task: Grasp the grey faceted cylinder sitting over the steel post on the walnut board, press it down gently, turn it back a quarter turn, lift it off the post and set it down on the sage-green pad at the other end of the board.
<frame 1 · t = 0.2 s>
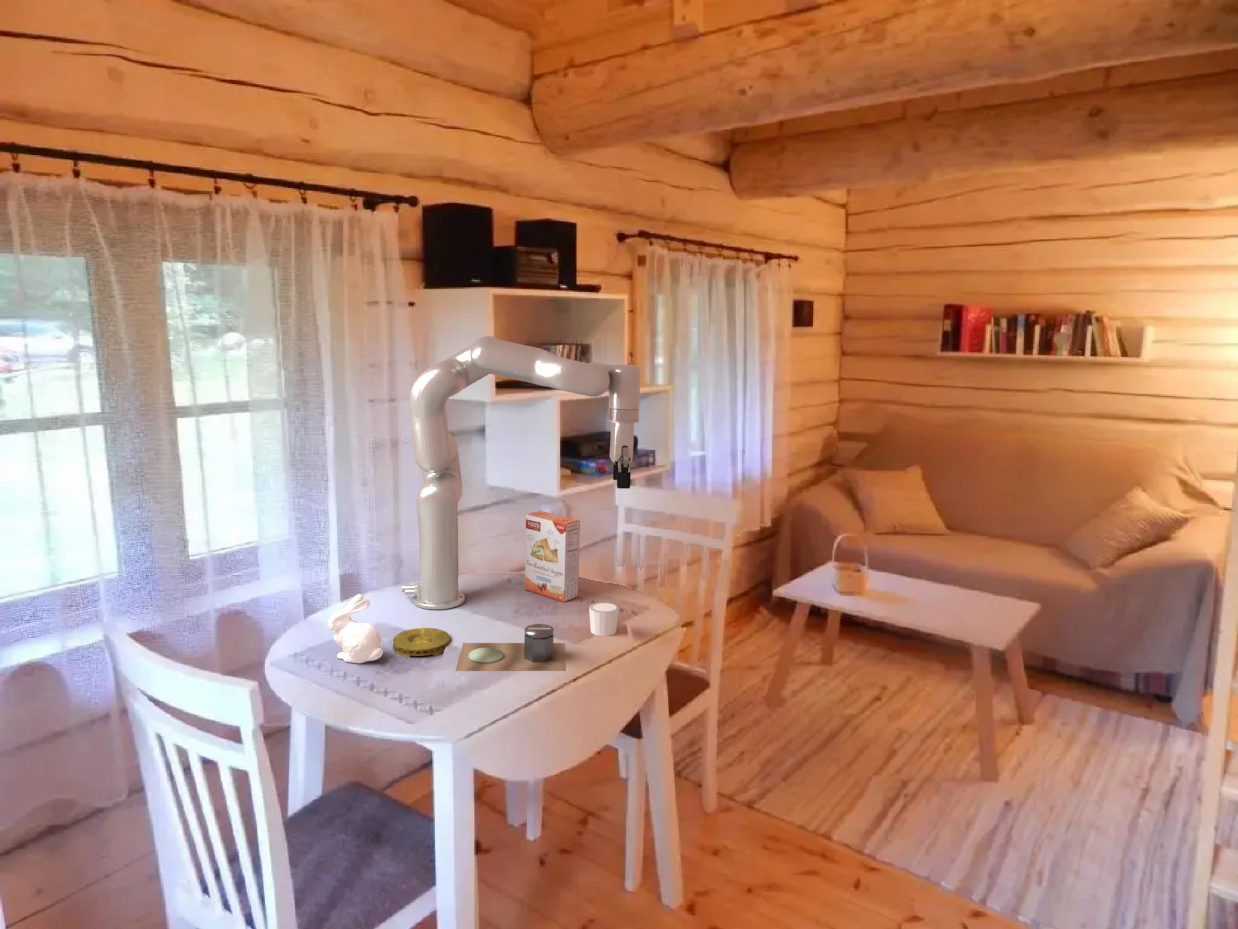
hand: (621, 484, 204), 31 cm above the table, tool pointing down, fingers open, 9 cm apart
brake disc: (421, 648, 179), on the table
white cup: (603, 636, 189), on the table
cracker box: (551, 594, 215), on the table
rabbit: (355, 657, 173), on the table
board: (512, 661, 173), on the table
grey faceted cylinder: (538, 656, 173), point 1 cm above the table, touching board
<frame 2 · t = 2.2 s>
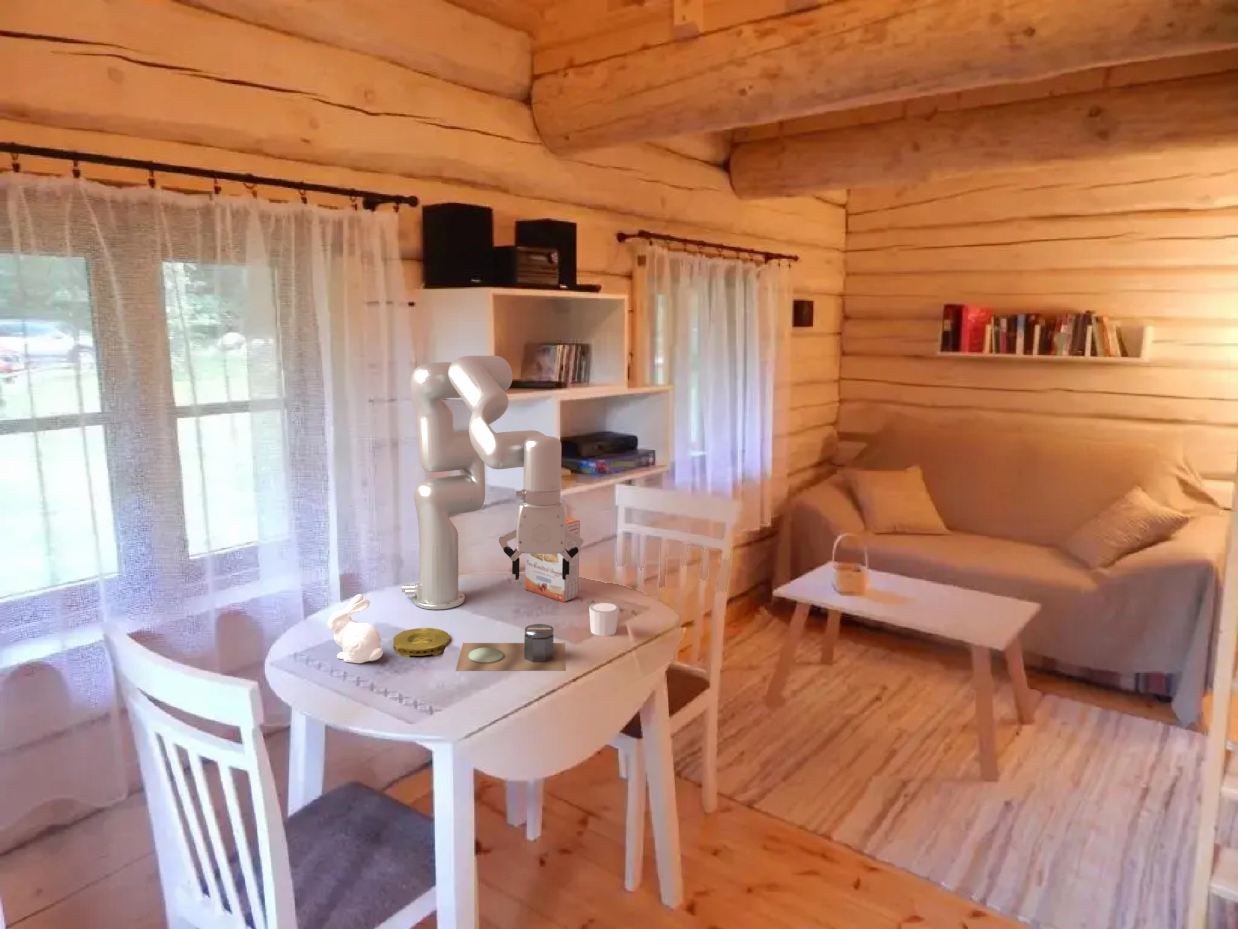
hand: (540, 577, 170), 18 cm above the table, tool pointing down, fingers open, 9 cm apart
nothing on the table moved.
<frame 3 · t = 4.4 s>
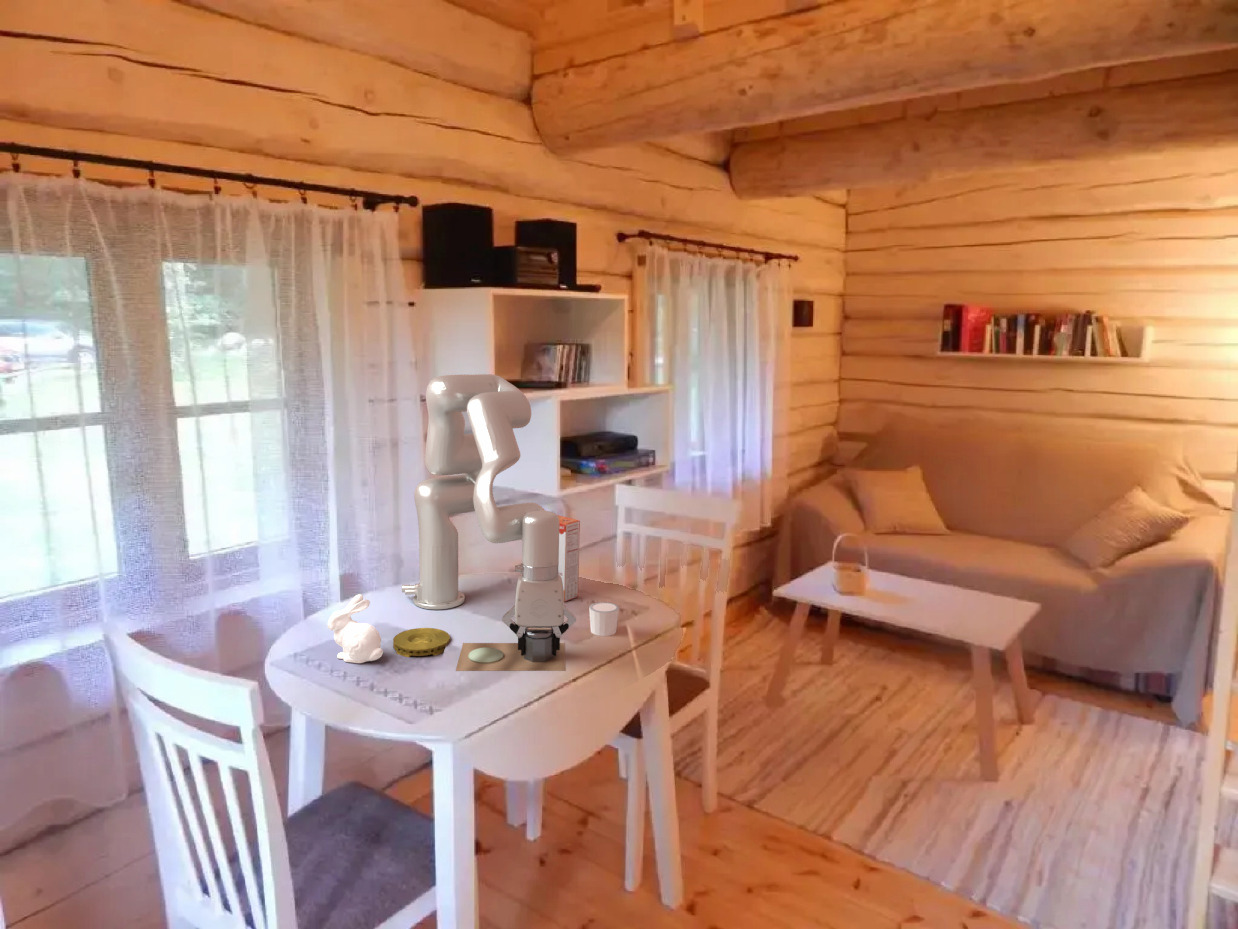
hand: (538, 652, 173), 2 cm above the table, tool pointing down, fingers closed on grey faceted cylinder, 6 cm apart
grey faceted cylinder: (538, 656, 173), point 1 cm above the table, touching board, gripper
everything else where it was.
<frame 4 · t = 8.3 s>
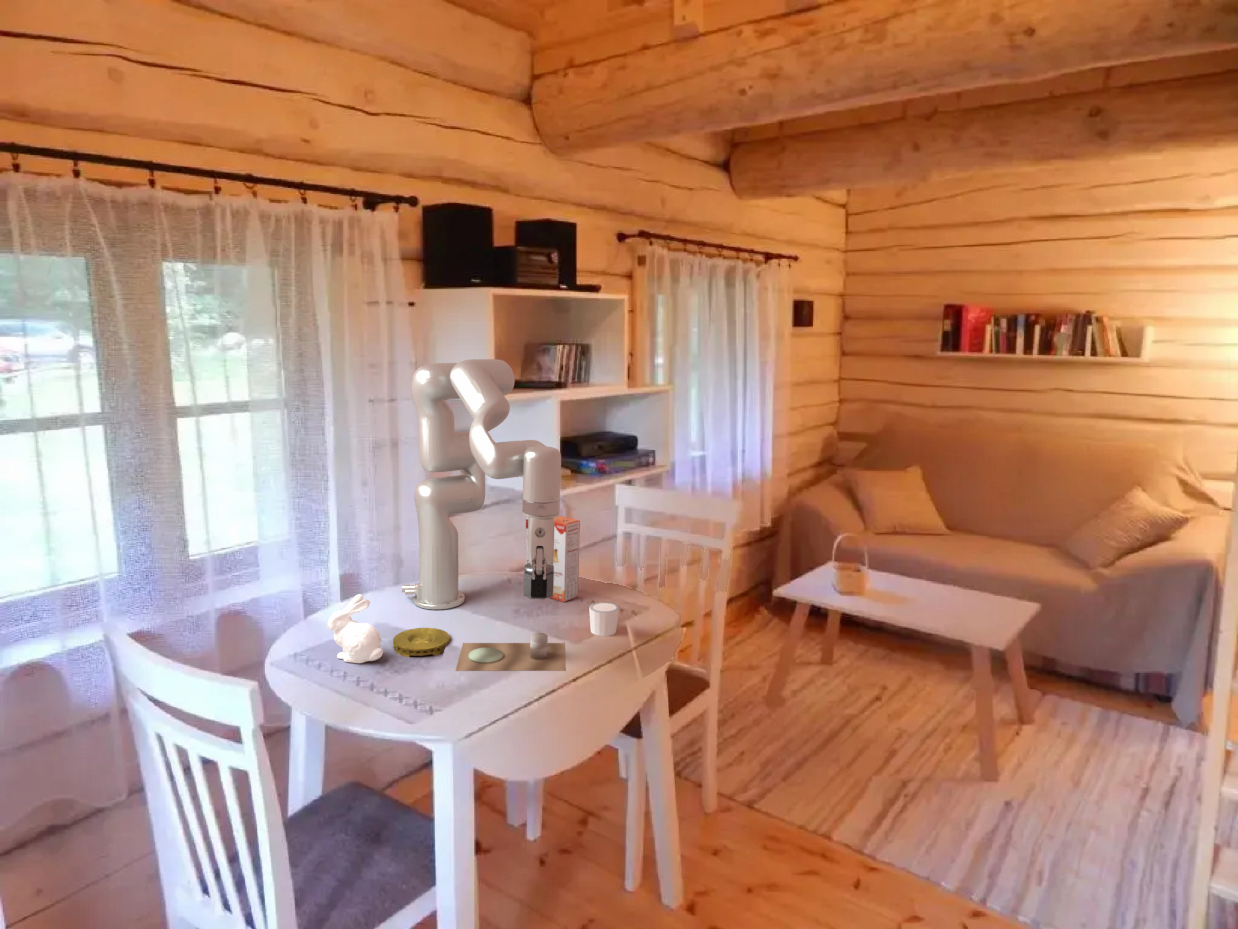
hand: (538, 590, 171), 16 cm above the table, tool pointing down, fingers closed on grey faceted cylinder, 6 cm apart
grey faceted cylinder: (538, 593, 171), point 15 cm above the table, touching gripper
everything else where it was.
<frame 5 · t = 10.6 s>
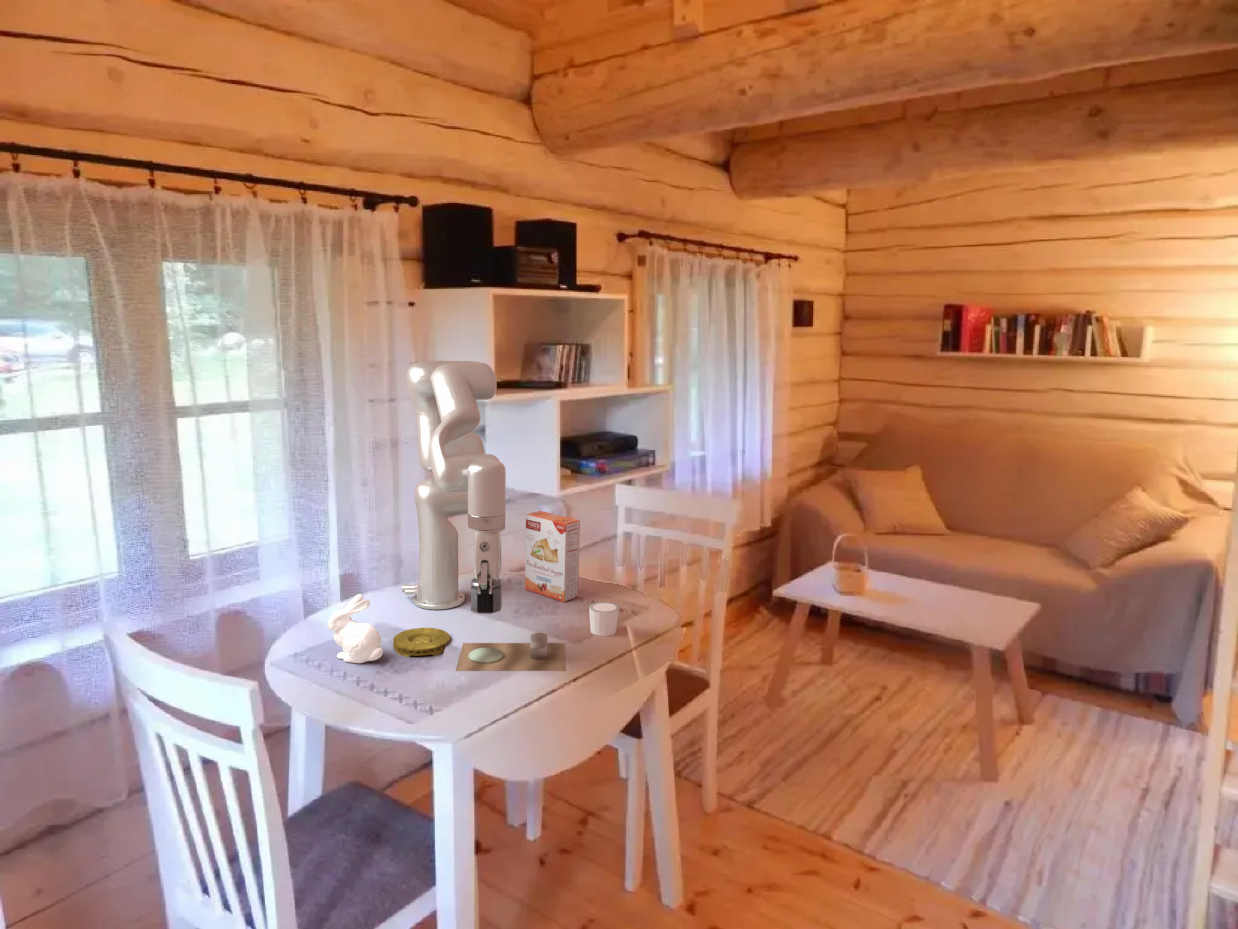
hand: (486, 605, 170), 12 cm above the table, tool pointing down, fingers closed on grey faceted cylinder, 6 cm apart
grey faceted cylinder: (486, 608, 170), point 12 cm above the table, touching gripper
everything else where it was.
when the fingers open (3 cm above the table, at t = 12.6 s): grey faceted cylinder drops 1 cm, resting on board.
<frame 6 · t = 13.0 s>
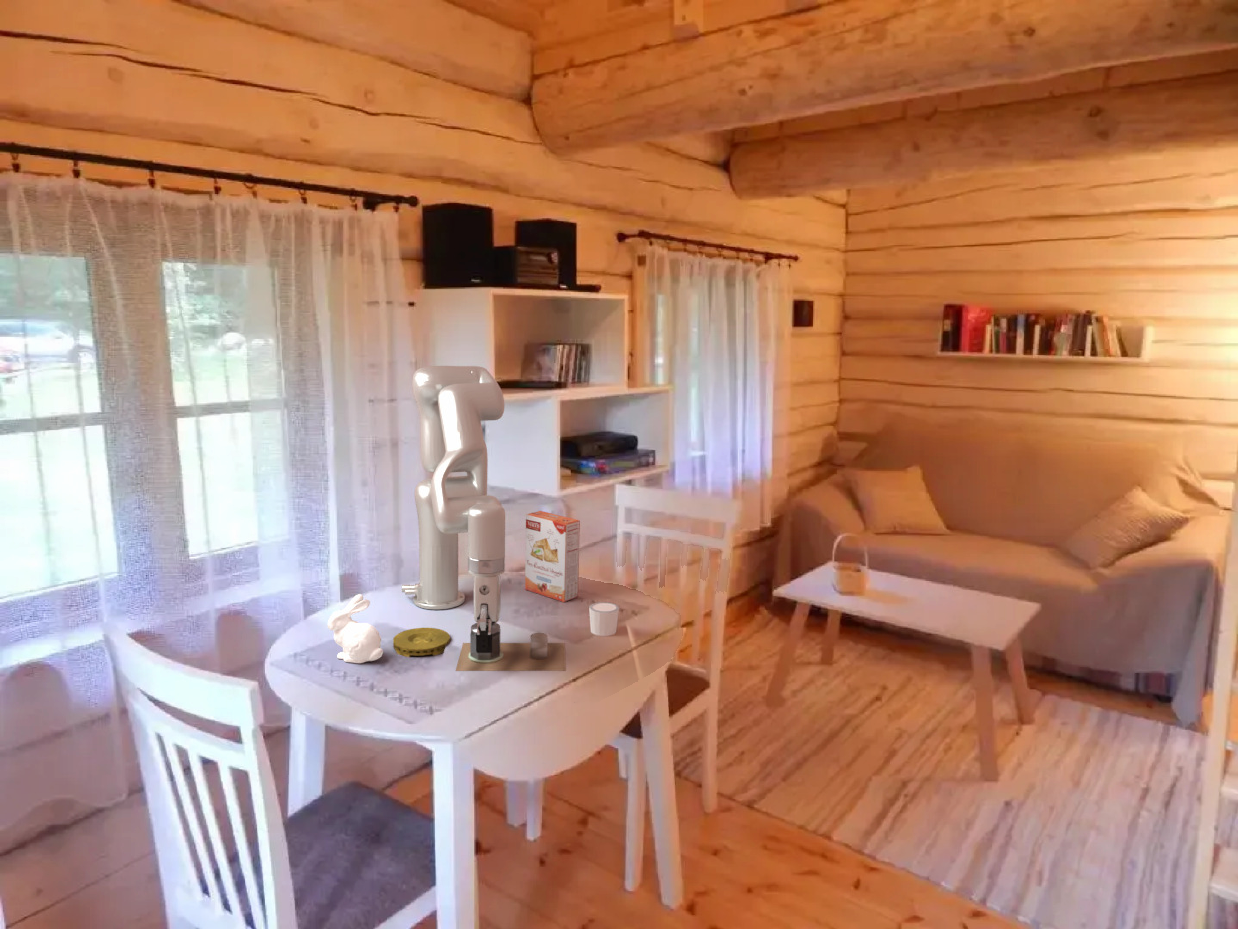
hand: (486, 642, 172), 4 cm above the table, tool pointing down, fingers open, 9 cm apart
grey faceted cylinder: (485, 654, 173), point 2 cm above the table, touching board
everything else where it was.
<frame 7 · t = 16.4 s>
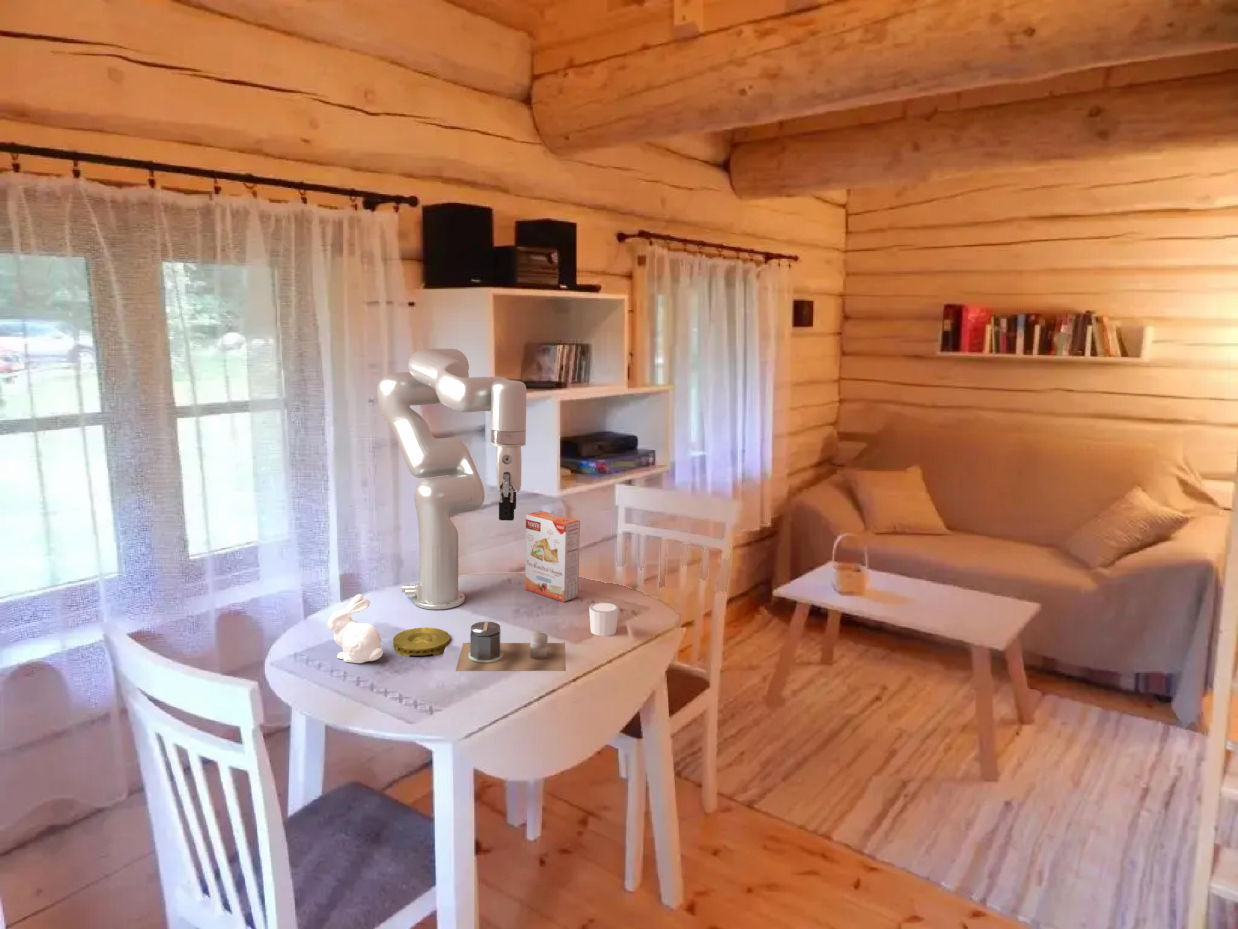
hand: (507, 514, 181), 28 cm above the table, tool pointing down, fingers open, 9 cm apart
nothing on the table moved.
at the end: grey faceted cylinder 0.3 cm from the target spot on the board, point 1.6 cm above the board's base; grey faceted cylinder tilted 0°; the gripper is holding nothing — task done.
